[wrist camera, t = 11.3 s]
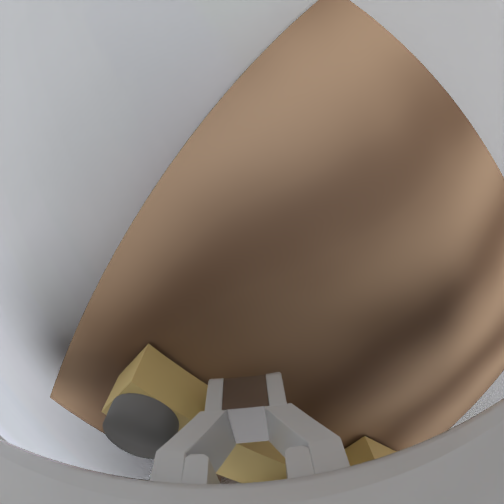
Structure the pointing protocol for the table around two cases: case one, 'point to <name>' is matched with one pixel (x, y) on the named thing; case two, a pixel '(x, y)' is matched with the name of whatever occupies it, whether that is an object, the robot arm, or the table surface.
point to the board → (316, 244)
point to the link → (189, 419)
